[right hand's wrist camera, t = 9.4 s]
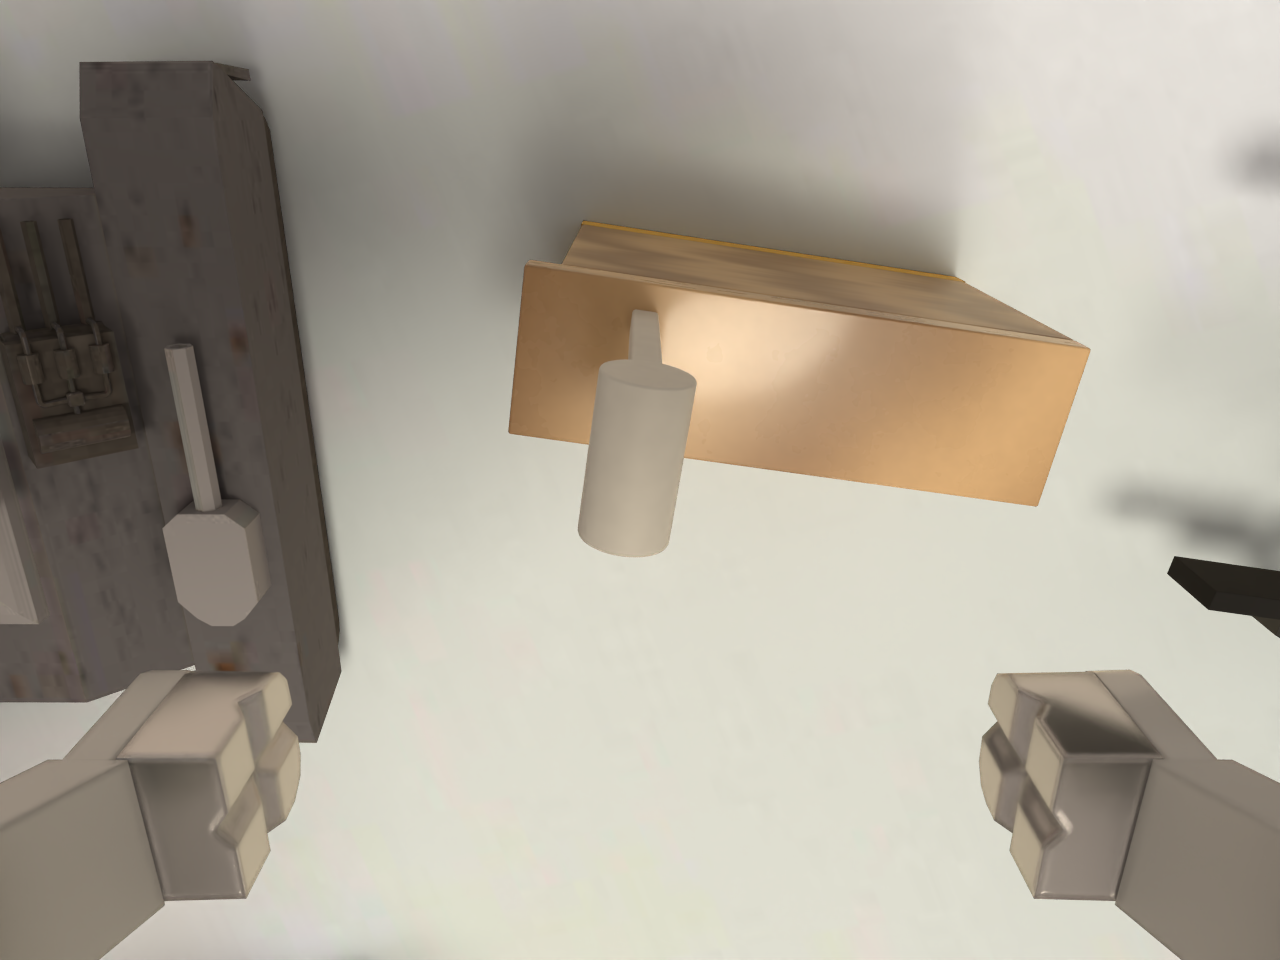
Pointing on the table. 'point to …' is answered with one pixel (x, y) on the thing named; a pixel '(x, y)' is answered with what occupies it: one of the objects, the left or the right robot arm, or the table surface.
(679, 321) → the lid
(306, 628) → the toy
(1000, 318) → the chest
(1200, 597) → the left robot arm
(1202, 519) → the table surface
